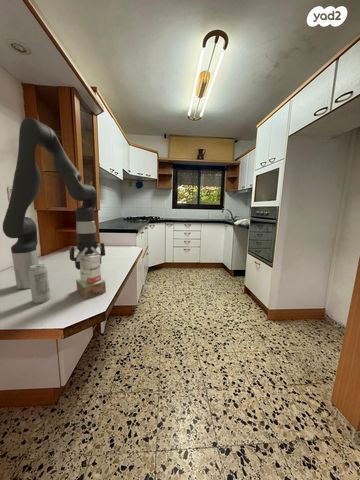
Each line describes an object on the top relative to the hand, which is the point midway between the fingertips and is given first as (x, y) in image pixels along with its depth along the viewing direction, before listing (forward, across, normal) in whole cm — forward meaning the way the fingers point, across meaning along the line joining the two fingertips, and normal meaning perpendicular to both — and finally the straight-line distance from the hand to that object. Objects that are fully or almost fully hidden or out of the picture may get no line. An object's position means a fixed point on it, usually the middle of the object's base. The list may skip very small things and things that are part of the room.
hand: (89, 267), depth 84 cm
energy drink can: (+12, -18, +5) cm, 22 cm away
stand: (+12, 0, 0) cm, 12 cm away
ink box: (+6, 0, 0) cm, 6 cm away
